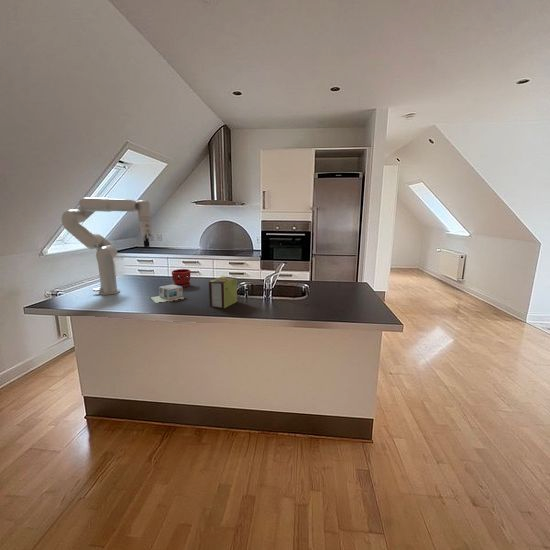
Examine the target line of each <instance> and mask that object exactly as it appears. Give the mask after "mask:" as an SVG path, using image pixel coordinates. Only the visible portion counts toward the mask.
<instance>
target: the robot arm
mask: <svg viewBox="0 0 550 550" xmlns="http://www.w3.org/2000/svg"><path fill="white" fill-rule="evenodd" d="M150 204H151V203H150V201H149V200H141V199H140V200H134V199H127V198H125V199H124V198H123V199H122V198H121V199H120V198H110V197H109V198H108V197H82V198H80V199H79V201H78V205H79V206H78V207H77V208H76V209H67V210H65V211H64V212H63V213H62V215H61V224H62V226H63V228H64V229H65V230H66V231H67V232H68V233H69V234H71V236H73V237H74V238H75V239H77V241H79V242H80V243H81V244H82V245H84V246H85V247H86V248H87V249H89V250H96V253H95V257H96V260H97V261H96V262H97V265H98V266H97V267H98V273H99V275H98V276H99V282H100V286H99V287H95V288H92V292H95V293H96V292H98V295H100V296H101V295H102V296H107V295H109V296H110V295H115V294H118V293H120V292H121V290H120V289H119V288H118V284H117V276H116V274H117V273H116V265H115V261H114V258H115V257H117V255H118V249H117V248H116V246H114V245H113V244H112V243H111V242H110V241H108V240H107V238H105V237H104V236H103V235H101V234H98V233H92V232H91V231H89V229H87V228H86V227H85V226H83V225H82V224H81V223H83V222H86V220H87V219H88V218H90V217H91V216H92V215H93V214H95V212H107V213H109V212H127V213H128V212H132V213H133V212H137V217H138V218H137V219H138V223H140V224H139V225H140V235H141V236H142V238H143V247H144V248H149V247H151V246H150V237H152V236H153V234H152V226H151V222H152V218H151V216H152V215H151V208H150V207H151V206H150Z"/></svg>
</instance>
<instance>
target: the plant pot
mask: <svg viewBox="0 0 550 550" xmlns="http://www.w3.org/2000/svg"><path fill="white" fill-rule="evenodd" d="M171 276H172V281H173V283H174V284H173V285H177V286H181V287H182V288H186V286H187V287H189V286H190V285H191V282H190V280H191V269H189V268H180V269H174V270H172V271H171Z"/></svg>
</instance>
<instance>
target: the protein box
mask: <svg viewBox="0 0 550 550" xmlns="http://www.w3.org/2000/svg"><path fill="white" fill-rule="evenodd" d="M237 279H238V278H237V277H231V276H226V275H225V276H224V275H222V276H220V277H216V278H214V279H212V280H209V281H208V292H209V293H208V295H209V296H208V297H209V307H212V308H220V309H226V308H228V307H230V306H232V305H234V304H235V303H237V302H238V288H237V287H238V281H237Z"/></svg>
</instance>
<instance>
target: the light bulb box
mask: <svg viewBox="0 0 550 550" xmlns="http://www.w3.org/2000/svg"><path fill="white" fill-rule="evenodd" d="M183 288H184V287H181V286H177V285H174V284H173V283H172V284H167V285H162V286H159V287H158V296H160V297H163V298H166V299H173V298H177V297H181V296H183V295H184V294H183ZM183 297H184V296H183Z"/></svg>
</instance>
